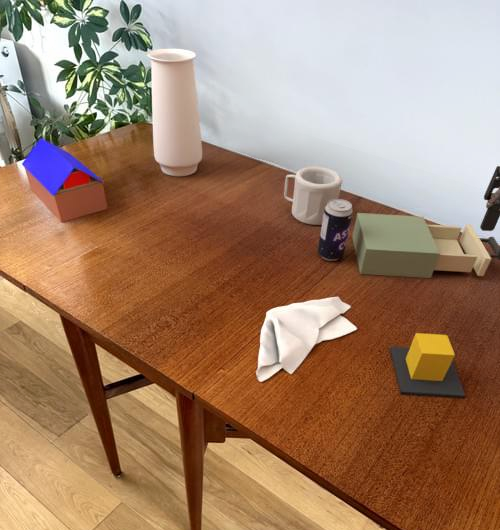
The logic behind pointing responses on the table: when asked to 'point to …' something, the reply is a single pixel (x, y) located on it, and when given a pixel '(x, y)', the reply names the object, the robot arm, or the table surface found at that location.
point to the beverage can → (335, 229)
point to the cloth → (298, 333)
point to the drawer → (453, 254)
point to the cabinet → (394, 245)
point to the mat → (424, 387)
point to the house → (63, 182)
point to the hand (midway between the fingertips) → (494, 243)
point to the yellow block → (429, 357)
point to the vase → (175, 112)
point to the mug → (313, 193)
